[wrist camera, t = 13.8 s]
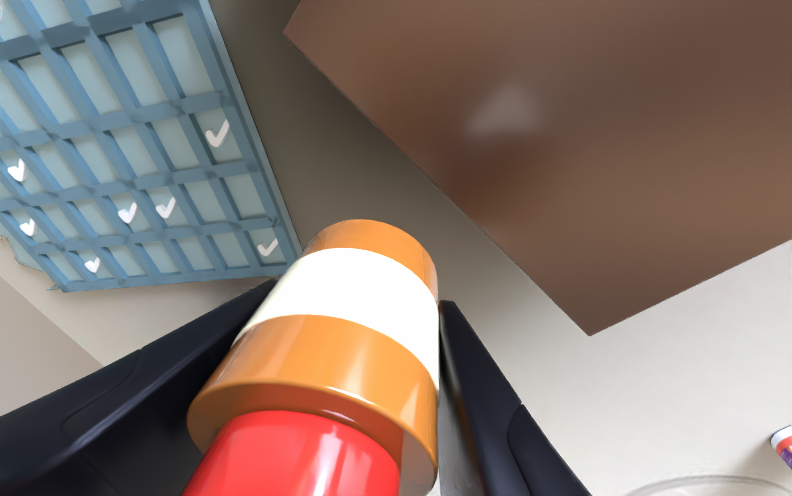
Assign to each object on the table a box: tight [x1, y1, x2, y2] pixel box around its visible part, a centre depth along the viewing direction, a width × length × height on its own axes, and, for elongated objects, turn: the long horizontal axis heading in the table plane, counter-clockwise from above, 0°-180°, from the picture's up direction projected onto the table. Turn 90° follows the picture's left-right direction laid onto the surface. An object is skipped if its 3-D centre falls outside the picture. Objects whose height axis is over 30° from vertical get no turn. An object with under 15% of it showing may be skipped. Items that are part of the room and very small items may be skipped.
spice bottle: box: [179, 219, 440, 496], centre depth 7 cm, size 4×4×6 cm
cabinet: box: [283, 0, 792, 336], centre depth 11 cm, size 15×14×10 cm
